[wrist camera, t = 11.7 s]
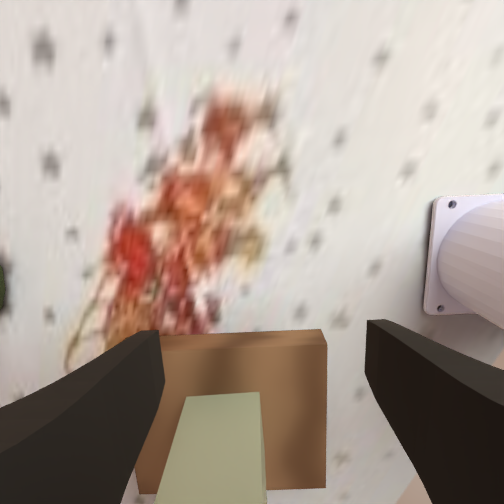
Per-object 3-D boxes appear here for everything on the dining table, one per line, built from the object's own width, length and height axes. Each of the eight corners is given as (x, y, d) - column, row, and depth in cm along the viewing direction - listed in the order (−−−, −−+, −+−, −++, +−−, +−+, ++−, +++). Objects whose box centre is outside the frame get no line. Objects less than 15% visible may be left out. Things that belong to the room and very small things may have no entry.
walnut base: (320, 329, 22) (327, 344, 20) (319, 463, 25) (325, 488, 23) (126, 337, 22) (114, 353, 20) (148, 469, 25) (139, 494, 23)
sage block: (259, 391, 21) (262, 522, 13) (264, 451, 22) (270, 602, 14) (186, 396, 21) (146, 528, 13) (195, 455, 22) (164, 608, 14)
